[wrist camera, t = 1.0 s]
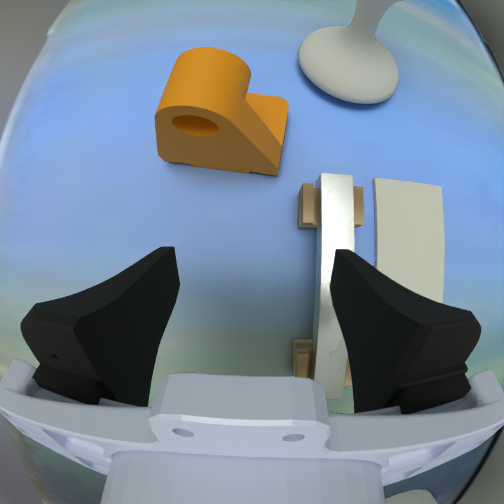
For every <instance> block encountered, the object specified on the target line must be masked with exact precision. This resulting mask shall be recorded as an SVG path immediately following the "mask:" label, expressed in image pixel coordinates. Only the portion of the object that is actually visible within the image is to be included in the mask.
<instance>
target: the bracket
mask: <svg viewBox="0 0 504 504" xmlns="http://www.w3.org/2000/svg"><path fill="white" fill-rule="evenodd" d="M250 78H251V72H250V69H249V67H248V66H247V64H246V63H245V62H244V61H243V60H242V59H241V58H239V57H238V56H236V55H234V54H232V53H230V52H228V51H225V50H221V49H217V48H210V47H201V48H194V49H190V50H188V51H185V52H184V53H182V54H181V55H180V56H179V57H178V58H177V60H176V62H175V65H174V67H173V69H172V72H171V74H170V77H169V79H168V82H167V84H166V87H165V89H164V92H163V95H162V97H161V100H160V103H159V106H158V109H157V111H156V114H155V128H156V139H157V149H158V155H159V156H160V157H161V158H162V159H163V160H164V161H165V162H175V163H185V164H190V165H191V166H192V167H201V168H209V169H217V170H225V171H233V172H240V173H246V174H250V172H256V173H262V174H268V175H274V176H278V170H279V165H280V159H281V153H282V147H283V141H284V135H285V129H286V123H287V117H288V108H289V105H288V102H287V101H286V100H285V99H283V98H281V97H275V96H268V95H260V94H251V93H247V90H248V86H249V82H250Z"/></svg>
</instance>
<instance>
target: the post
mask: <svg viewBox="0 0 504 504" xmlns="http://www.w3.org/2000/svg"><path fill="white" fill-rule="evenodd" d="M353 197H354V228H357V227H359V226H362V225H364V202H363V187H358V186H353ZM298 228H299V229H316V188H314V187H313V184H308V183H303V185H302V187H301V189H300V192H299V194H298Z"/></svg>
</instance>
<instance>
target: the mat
mask: <svg viewBox="0 0 504 504" xmlns="http://www.w3.org/2000/svg"><path fill="white" fill-rule="evenodd" d="M373 189H374V209H375V268H376V269H377V270H379V271H380V272H382V273H383V274H384V275H386V276H388V277H389V278H391V279H392V280H394V281H395V282H397V283H399V284H400V285H402V286H404V287H406V288H408V289H409V290H411V291H413V292H415V293H417V294H420V295H422V296H424V297H426V298H429V299H431V300H434V301H436V302H439V303H442V299H443V285H444V251H445V250H444V216H443V202H442V191H441V186H435V185H429V184H422V183H415V182H407V181H399V180H390V179H381V178H374V179H373Z"/></svg>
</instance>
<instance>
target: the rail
mask: <svg viewBox="0 0 504 504" xmlns="http://www.w3.org/2000/svg"><path fill="white" fill-rule="evenodd" d="M336 249H349V250H351V251H353V252H354V197H353V177H352V175H342V174H327V173H321V174H320V176H319V178H318V179H317V181H316V281H315V304H314V323H313V338H312V351H311V363H310V374H309V379H311V380H313V381H315V382H316V383H318V384H320V385H321V386H323V387H324V391H325V397H326V399H335V398H342V394H343V387H344V381H345V373H346V366H347V357H348V353H347V349H346V345H345V341H344V338H343V335H342V332H341V329H340V326H339V323H338V320H337V317H336V314H335V311H334V308H333V304H332V299H331V294H330V288H329V285H330V280H331V274H332V269H333V263H334V257H335V250H336Z"/></svg>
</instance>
